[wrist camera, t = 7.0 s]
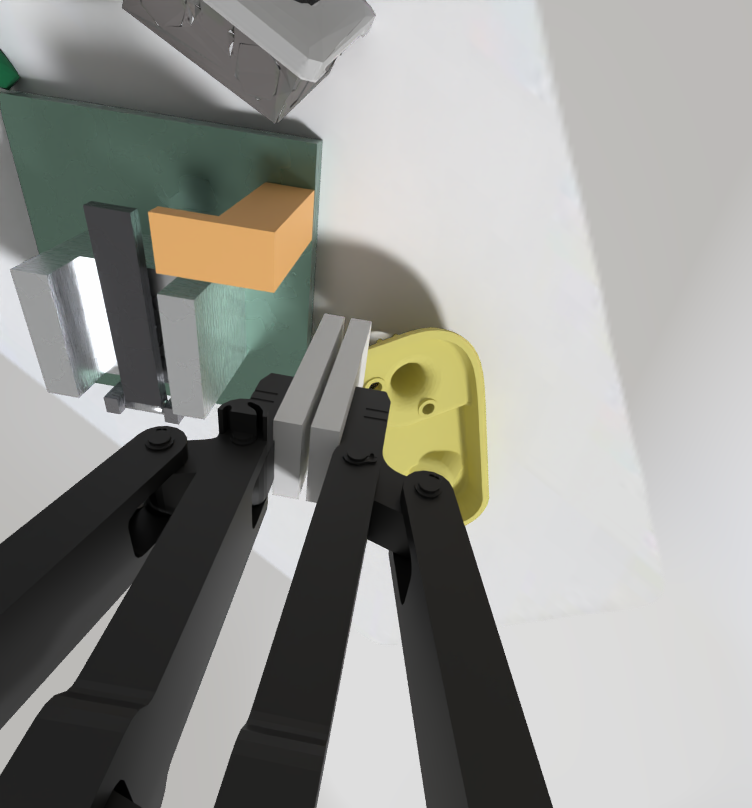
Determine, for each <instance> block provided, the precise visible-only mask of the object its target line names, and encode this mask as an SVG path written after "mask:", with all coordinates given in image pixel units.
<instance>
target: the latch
mask: <svg viewBox="0 0 752 808" xmlns="http://www.w3.org/2000/svg"><path fill="white" fill-rule="evenodd" d="M313 209H314V190H311V189H305V188H299V187H292V186H286V185H280V184H274V183H268V182H265V183H264V184H262V185H261V186H259V187H258V188H257V189H255V190H254V191H253V192H251V193H250V194H249V195H247V196H246V197H245V198H243V199H242V200H240V201H239V202H238V203H236V204H235V205H234V206H232V207H231V208H230V209H228V210H227V211H225V212H224V213H223V214H221V215H220V216H214V215H208V214H202V213H196V212H190V211H184V210H178V209H172V208H166V207H160V206H157V207H156V208H154V209H152V210H150V211H148V216H149V223H150V231H151V238H152V246H153V253H154V261H155V268H156V273H158V274H164V275H170V276H176V277H182V278H188V279H194V280H200V281H206V282H212V283H218V284H224V285H230V286H236V287H242V288H248V289H254V290H260V291H266V292H271V293H274V292H275V291H276V290H277V288H278V287H279V285H280V284H281V282H282V281H283V280H284V278H285V277H286V275H287V274H288V273H289V271H290V270H291V268H292V267H293V266H294V264H295V263H296V261H297V260H298V259H299V257H300V256H301V254H302V253H303V252H304V250H305V249H306V247H307V246H308V244H309V243H310V242H311V240H312V229H313Z"/></svg>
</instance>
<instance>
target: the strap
mask: <svg viewBox="0 0 752 808" xmlns="http://www.w3.org/2000/svg"><path fill="white" fill-rule="evenodd" d="M83 208H84V213H85V218H86V222H87V227H88V231H89V236H90V241H91V245H92V250H93V254H94V259H95V264H96V268H97V273H98V277H99V282H100V287H101V291H102V296H103V300H104V305H105V310H106V314H107V319H108V323H109V328H110V332H111V337H112V342H113V346H114V351H115V355H116V360H117V365H118V369H119V374H120V378H121V383H122V388H123V392H124V397H125V402H124V404H125V407H126V408H129V409H135V410H141V411H147V412H152V413H158V414H164V410H163V407H164V406H165V405H166V403H167V402H168V400H167V394H166V388H165V381H164V375H163V369H162V362H161V356H160V349H159V343H158V336H157V330H156V323H155V317H154V311H153V304H152V298H151V291H150V285H149V278H148V272H147V265H146V259H145V253H144V246H143V240H142V233H141V227H140V220H139V214H138V208H132V207H126V206H119V205H113V204H107V203H101V202H95V201H90V202H88V203H86V204H84V205H83Z"/></svg>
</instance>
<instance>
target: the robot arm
mask: <svg viewBox="0 0 752 808" xmlns="http://www.w3.org/2000/svg"><path fill="white" fill-rule="evenodd" d="M344 323H345V317H343V316H337V315H331V314H324V316H323V318H322V320H321V322H320V324H319V326H318V328H317V330H316V332H315V334H314V336H313V339H312V341H311V343H310V345H309V347H308V349H307V351H306V353H305V355H304V357H303V359H302V361H301V364H300V366H299V368H298V370H297V372H296V374H295V376H294V377H293V376H287V375H281V374H275V373H270V374H269V375H267V376H266V377H264V378H263V379H261V380H260V382H259V383H258V385H257V387H256V389H255V392H253V394H252V395H251V397H250V399H241V398H240V399H235V400H230V401H228V402H226V403H224V404H222V405H221V406H220V407H219V408H218V422H219V435H218V436H217V437H216V438H213V439H205V440H187V437H186V435H185V434H184V432H183V431H181V430H179V429H178V428H175V427H170V426H158V427H154V428H150V429H147V430H145V431H143V432H142V433H140V434H138V435H137V436H136V437H134V438H133V439H132V440H131V441H129V442H128V443H127V444H126V445H124V446H123V447H122V448H121V449H119V450H118V451H117V452H116V453H114V454H113V455H112V456H111V457H109V458H108V459H107V460H106V461H104V462H103V463H102V464H100V465H99V466H98V467H97V468H95V469H94V470H93V471H92V472H90V473H89V474H88V475H87V476H85V477H84V478H83V479H82V480H80V481H79V482H78V483H76V484H75V485H74V486H73V487H71V488H70V489H69V490H68V491H67V492H65V493H64V494H63V495H61V496H60V497H59V498H58V499H57V500H55V501H54V502H53V503H51V504H50V505H49V506H48V507H46V508H45V509H44V510H42V511H41V512H40V513H39V514H37V515H36V516H35V517H34V518H32V519H31V520H30V521H29V522H28V523H26V524H25V525H24V526H23V527H21V528H20V529H19V530H17V531H16V532H15V533H13V535H11V536H10V537H8V538H7V539H6V540H5V541H3V542H2V543H1V544H0V729H1V728H2V727H3V726H4V725H5V724H6V723H7V721H8V720H9V719H10V718H11V717H12V716H13V715H14V714H15V713H16V712H17V710H18V709H19V708H20V707H21V706H22V705H23V704H24V703H25V702H26V700H27V699H28V698H29V697H30V696H31V695H32V694H33V693H34V692H35V691H36V689H37V688H38V687H39V686H40V685H41V684H42V683H43V682H44V681H45V679H46V678H47V677H48V676H49V675H50V674H51V673H52V672H53V671H54V669H55V668H56V667H57V666H58V665H59V664H60V663H61V662H62V660H64V658H65V657H66V656H67V655H68V654H69V653H70V652H71V651H72V650H73V648H74V647H75V646H76V645H77V644H78V643H79V642H80V641H81V640H82V639H83V637H84V636H85V635H86V634H87V633H88V632H89V631H90V630H91V629H92V627H93V626H94V625H95V624H96V623H97V622H98V621H99V620H100V618H101V617H102V616H103V615H104V614H105V613H106V612H107V611H108V610H109V609H110V607H111V606H112V605H113V604H114V603H115V602H116V601H117V600H118V599H119V597H120V596H121V595H122V594H123V593H124V592H125V591H126V590H127V589H128V588H129V586H130V585H131V584H132V585H131V586H130V589H129V590H128V592H127V594H126V595H125V597H124V599H123V600H122V602H121V604H120V606H119V607H118V609H117V611H116V613H115V614H114V616H113V618H112V619H111V621H110V623H109V624H108V626H107V628H106V630H105V631H104V633H103V635H102V637H101V638H100V640H99V642H98V644H97V645H96V647H95V649H94V651H93V652H92V654H91V656H90V657H89V659H88V661H87V662H86V664H85V666H84V668H83V669H82V671H81V673H80V674H79V676H78V678H77V679H76V681H75V682H74V684H73V685H72V687H70V688H69V689H68V690H67V691H66V692H63V693H60V694H57V695H54V696H53V697H52V698H51V699H50V700H49V701H48V702H47V703H46V704H45V705H44V707H43V708H42V709H41V711H40V712H39V714H38V715H37V716H36V718H35V719H34V721H33V723H32V724H31V726H30V728H29V729H28V731H27V732H26V734H25V736H24V737H23V739H22V741H21V742H20V744H19V746H18V747H17V749H16V751H15V752H14V754H13V755H12V757H11V759H10V760H9V762H8V764H7V765H6V767H5V769H4V770H3V772H2V774H1V775H0V808H160V807H161V804H162V800H163V796H164V792H165V786H166V780H167V774H168V770H169V767H170V763H171V760H172V757H173V754H174V752H175V749H176V747H177V744H178V742H179V739H180V736H181V733H182V731H183V728H184V726H185V723H186V721H187V718H188V715H189V712H190V710H191V707H192V705H193V702H194V699H195V697H196V694H197V692H198V689H199V686H200V684H201V681H202V678H203V676H204V673H205V671H206V667H207V665H208V663H209V660H210V657H211V655H212V652H213V649H214V647H215V644H216V641H217V639H218V636H219V634H220V631H221V628H222V626H223V623H224V620H225V618H226V615H227V613H228V610H229V607H230V605H231V602H232V599H233V597H234V594H235V592H236V589H237V586H238V583H239V581H240V578H241V576H242V573H243V570H244V568H245V565H246V562H247V560H248V557H249V554H250V552H251V549H252V547H253V544H254V542H255V539H256V536H257V534H258V531H259V528H260V526H261V523H262V520H263V518H264V515H265V513H266V510H267V504H268V493H269V490H270V488H271V485H272V495H277V496H282V497H288V498H293V499H298V498H299V495H300V492H301V489H302V487H303V484H304V481H305V478H306V475H307V472H308V477H307V492H306V501H310V502H316V503H317V504H316V507H315V511H314V514H313V517H312V520H311V523H310V526H309V530H308V533H307V536H306V539H305V542H304V545H303V548H302V552H301V555H300V558H299V561H298V564H297V567H296V571H295V574H294V577H293V580H292V583H291V587H290V590H289V593H288V596H287V599H286V602H285V605H284V608H283V612H282V615H281V618H280V621H279V624H278V628H277V631H276V634H275V637H274V640H273V643H272V646H271V650H270V653H269V656H268V659H267V662H266V665H265V668H264V672H263V675H262V678H261V681H260V684H259V688H258V691H257V694H256V697H255V700H254V703H253V706H252V710H251V712H250V715H249V718H248V720H247V723H246V724H245V725H244V726H243V728H242V729H241V731H240V733H239V735H238V737H237V740H236V742H235V745H234V748H233V751H232V754H231V756H230V759H229V763H228V766H227V769H226V772H225V775H224V778H223V781H222V784H221V787H220V790H219V793H218V796H217V799H216V803H215V806H214V808H316V807H317V801H318V796H319V790H320V784H321V780H322V775H323V769H324V764H325V759H326V753H327V748H328V743H329V737H330V731H331V727H332V722H333V717H334V711H335V706H336V701H337V695H338V690H339V685H340V680H341V674H342V669H343V664H344V658H345V653H346V647H347V643H348V637H349V632H350V627H351V621H352V616H353V611H354V606H355V600H356V595H357V590H358V584H359V579H360V574H361V569H362V563H363V558H364V553H365V548H366V543H367V539H368V540H370V541H372V542H374V543H376V544H378V545H380V546H382V547H384V548H386V549H388V550H389V560H390V567H391V573H392V580H393V587H394V593H395V600H396V607H397V613H398V620H399V627H400V633H401V640H402V647H403V653H404V660H405V666H406V673H407V680H408V686H409V693H410V700H411V706H412V713H413V720H414V726H415V732H416V739H417V746H418V753H419V759H420V766H421V773H422V779H423V786H424V793H425V799H426V806H427V808H553V806H552V803H551V800H550V796H549V794H548V790H547V787H546V784H545V780H544V777H543V774H542V771H541V768H540V764H539V761H538V758H537V755H536V752H535V749H534V746H533V742H532V739H531V736H530V732H529V729H528V726H527V723H526V720H525V717H524V713H523V710H522V707H521V704H520V701H519V698H518V694H517V691H516V688H515V685H514V681H513V679H512V675H511V672H510V669H509V666H508V662H507V659H506V656H505V653H504V649H503V646H502V643H501V640H500V637H499V634H498V631H497V627H496V624H495V621H494V618H493V614H492V611H491V608H490V605H489V602H488V598H487V595H486V592H485V589H484V586H483V582H482V579H481V576H480V573H479V570H478V566H477V563H476V560H475V557H474V554H473V550H472V547H471V544H470V541H469V538H468V534H467V531H466V528H465V525H464V522H463V519H462V515H461V512H460V509H459V506H458V503H457V499H456V496H455V493H454V490H453V487H452V486H451V484H450V482H449V481H448V480H447V479H445V478H444V477H443V476H442V475H439V474H437V473H435V472H431V471H425V470H423V471H415V472H413V473H411V474H409V475H407V476H405V475H403V474H400V473H398V472H397V471H395V470H393V469H392V468H391V467H390V466H388V464H387V463H386V462H385V460H384V457H383V446H384V440H385V434H386V428H387V422H388V416H389V410H390V404H391V401H390V399H389V397H388V394H387V392H385V391H380V390H374V389H368V388H363V384H364V376H365V369H366V361H367V354H368V346H369V339H370V332H371V324H372V321H366V320H360V319H355V318H351V320H350V323H349V326H348V328H347V331H346V334H345V336H344V339H343V333H344ZM272 483H273V484H272Z"/></svg>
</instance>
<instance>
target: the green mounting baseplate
mask: <svg viewBox="0 0 752 808" xmlns="http://www.w3.org/2000/svg"><path fill="white" fill-rule="evenodd" d="M0 110H1V113H2V117H3V121H4V124H5V128H6V132H7V136H8V139H9V143H10V147H11V150H12V154H13V158H14V162H15V165H16V169H17V173H18V177H19V180H20V184H21V188H22V191H23V195H24V199H25V203H26V206H27V210H28V214H29V217H30V221H31V225H32V229H33V232H34V236H35V240H36V244H37V247H38V251H39V255H37V256H35V257H33V258H31V259H29V260H27V261H25V262H23V263H21V264H19V265H17V266H15V267H13V268H11V269H10V271H11V275H12V278H13V281H14V284H15V287H16V291H17V294H18V297H19V300H20V304H21V307H22V310H23V313H24V317H25V320H26V323H27V326H28V330H29V333H30V336H31V339H32V343H33V346H34V349H35V352H36V355H37V359H38V362H39V365H40V368H41V372H42V375H43V378H44V381H45V385H46V388H47V391H48V392H49V393H55V394H61V395H66V396H72V397H78V398H79V397H80V396H81V395H82V394H83V393H85V392H86V391H87V390H88V389H89V388H90V387H91V386H92V385H93V384H94V383H100V384H106V385H112V386H114V387H113V388H112V389H111V390H110V392H109V393H108V394H107V395H106V396H105V397H104V401H105V405H106V409H107V412H110V413H116V414H121V413H122V412H123V410H124V409H125V408H126V407H125V404H124V402H125V397H124V392H123V388H122V383H121V378H120V374H119V369H118V365H117V360H116V355H115V351H114V346H113V342H112V337H111V332H110V328H109V323H108V319H107V314H106V310H105V305H104V300H103V296H102V291H101V287H100V282H99V277H98V273H97V268H96V264H95V259H94V254H93V250H92V245H91V241H90V236H89V231H88V227H87V222H86V218H85V213H84V208H83V205H84V204H86V203H88V202H90V201H95V202H101V203H107V204H113V205H119V206H126V207H132V208H138V214H139V220H140V227H141V233H142V240H143V246H144V253H145V259H146V265H147V272H148V278H149V285H150V291H151V298H152V304H153V311H154V317H155V323H156V330H157V336H158V343H159V349H160V356H161V362H162V369H163V375H164V381H165V388H166V394H167V395H170V396H171V398H170V400H169V401H168V402H167V403H166V405H165V406H164V407H163V410H164V417H165V422H168V423H174V424H179V423H180V421H181V420H182V419H183V417H184V416H188V417H193V418H199V419H205V418H206V417H207V415H208V414H209V412H210V411H211V409H212V408H213V406H214V405H215V403H216V404H224V403H226V402H228V401H230V400H235V399H240V398H241V399H250V397H251V395H252V394H253V392H255V389H256V387H257V385H258V383H259V382H260V380H261V379H263V378H264V377H266V376H267V375H269V374H270V373H275V374H281V375H287V376H293V377H294V376H295V374H296V372H297V370H298V368H299V366H300V364H301V361H302V359H303V357H304V355H305V353H306V351H307V349H308V347H309V345H310V343H311V333H312V315H313V298H314V280H315V262H316V245H317V227H318V210H319V192H320V175H321V157H322V140H319V139H313V138H307V137H300V136H294V135H288V134H282V133H275V132H269V131H263V130H257V129H250V128H244V127H238V126H232V125H225V124H219V123H213V122H207V121H200V120H194V119H188V118H182V117H175V116H169V115H163V114H157V113H150V112H144V111H138V110H132V109H125V108H119V107H113V106H107V105H100V104H94V103H88V102H82V101H75V100H69V99H63V98H57V97H50V96H44V95H38V94H32V93H25V92H19V91H5V92H0ZM265 182H268V183H274V184H280V185H286V186H292V187H299V188H305V189H311V190H314V209H313V229H312V240H311V242H310V243H309V244H308V246H307V247H306V249H305V250H304V252H303V253H302V254H301V256H300V257H299V259H298V260H297V261H296V263H295V264H294V266H293V267H292V268H291V270H290V271H289V273H288V274H287V275H286V277H285V278H284V280H283V281H282V282H281V284H280V285H279V287H278V288H277V290H276V291H275V292H274V293H271V292H266V291H260V290H254V289H248V288H242V287H236V286H230V285H224V284H218V283H212V282H206V281H200V280H194V279H188V278H182V277H176V276H170V275H164V274H158V273H156V268H155V261H154V253H153V246H152V238H151V231H150V223H149V216H148V211H150V210H152V209H154V208H156V207H157V206H160V207H166V208H172V209H178V210H184V211H190V212H196V213H202V214H208V215H214V216H220V215H221V214H223V213H224V212H225V211H227V210H228V209H230V208H231V207H232V206H234V205H235V204H236V203H238V202H239V201H240V200H242V199H243V198H245V197H246V196H247V195H249V194H250V193H251V192H253V191H254V190H255V189H257V188H258V187H259V186H261V185H262V184H264V183H265Z"/></svg>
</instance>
